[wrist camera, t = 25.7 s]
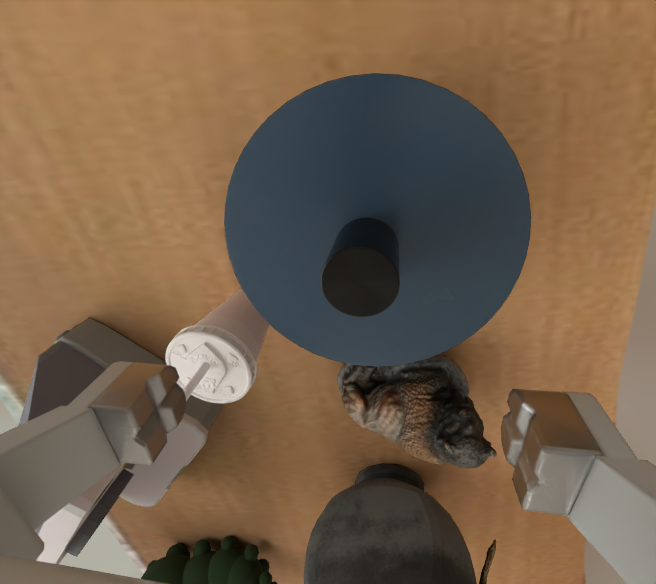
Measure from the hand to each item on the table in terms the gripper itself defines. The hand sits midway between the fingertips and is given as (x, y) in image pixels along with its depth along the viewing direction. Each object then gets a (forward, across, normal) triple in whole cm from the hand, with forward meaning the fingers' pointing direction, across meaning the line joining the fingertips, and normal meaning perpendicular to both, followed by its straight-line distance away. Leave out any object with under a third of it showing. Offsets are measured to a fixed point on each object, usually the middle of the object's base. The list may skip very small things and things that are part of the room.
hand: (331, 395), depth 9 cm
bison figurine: (+21, +3, -16) cm, 26 cm away
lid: (+11, 0, 0) cm, 11 cm away
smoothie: (+21, -11, -10) cm, 25 cm away
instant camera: (+21, -28, -24) cm, 43 cm away
